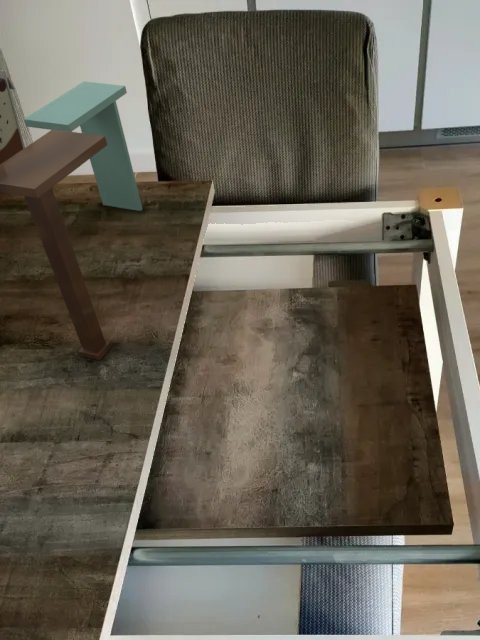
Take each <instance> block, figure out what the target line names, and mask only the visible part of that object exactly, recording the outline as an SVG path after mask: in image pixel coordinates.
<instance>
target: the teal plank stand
mask: <svg viewBox="0 0 480 640" xmlns="http://www.w3.org/2000/svg"><path fill="white" fill-rule="evenodd" d="M127 93H128V91H127V88H126V86H125V85H120V84H113V83H112V84H111V83H104V82H94V81H93V82H92V81H82V82H80V83H78V84H77V85H76V86H74V87H72V88H71V89H69V90H67V91H66V92H64V93H62V94H61V95H60V96H58V97H57V98H55V99H54V100H52V101H50V102H49V103H47V104H45V105H44V106H42V107H40V108H39V109H38V110H36V111H34V112H33V113H31V114H30V115H28V116H26V117H25V118H23V121H24V124H25V127H27V128H33V129H35V128H36V129H42V130H49V131H51V130H52V129H54V130H62V131H70V132H74V131H75V130H77V128H79V127H80V131H81V133H85V134H92V135H100V136H105V138H106V142H107V146H106V147H104V148H103V149H102V150H100V151H99V152H98V153H97V154H95V155H94V156H93V157H91V158H90V159H89V162H90V165H91V168H92V172H93V175H94V179H95V181H96V185H97V188H98V193H99V196H100V200H101V203H102V206H106V207H107V206H108V207H111V208H113V207H114V208H118V209H119V208H120V209H126V210H132V211H139V212H142V211H143V206H142V202H141V197H140V193H139V189H138V185H137V181H136V177H135V173H134V169H133V165H132V161H131V157H130V153H129V148H128V144H127V141H126V137H125V133H124V129H123V125H122V121H121V116H120V112H119V109H118V105H117V100H119V99H120V98H123V96H125V95H127Z"/></svg>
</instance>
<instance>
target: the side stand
mask: <svg viewBox="0 0 480 640" xmlns="http://www.w3.org/2000/svg"><path fill="white" fill-rule="evenodd" d="M106 146H107V142H106V138H105V136H100V135H92V134H85V133H82V132H77V131H72V132H70V131H62V130H54V129H52V130H49V131H47V132H46V133H45V134H43V135H42V136H40V137H39V138H37V139H35V140H34V141H33V142H31V143H30V144H28V145H27V146H25V148H24V149H23V150H21V151H20V152H18V153H17V154H15V155H14V156H12V157H11V158H9V159H8V160H6V161H5V162H3V163H2V164H0V193H3V194H9V195H15V196H22V197H24V199H25V200H24V201H25V202H26V205H27V208H28V210H29V212H30V215H31V218H32V221H33V223H34V226H35V228H36V231H37V233H38V236H39V238H40V241H41V245H42V247H43V249H44V252H45V254H46V257H47V260H48V262H49V265H50V267H51V270H52V273H53V275H54V278H55V280H56V283H57V286H58V288H59V291H60V293H61V296H62V299H63V301H64V304H65V306H66V310H67V312H68V314H69V317H70V319H71V322H72V324H73V328H74V330H75V332H76V336H77V338H78V340H79V343H80V345H81V348H80V349H79V350H78V354H79V356H80V357H84V358H88V359H92V360H97V361H101V360H102V358H103V357H104V356H105V355H106V354H107V353H108V352H109V351H110V349H111V348H112V347H113V345H112V343H111V341H109V340H106V339H105V336H104V333H103V331H102V328H101V325H100V322H99V320H98V317H97V314H96V311H95V308H94V304H93V301H92V299H91V296H90V293H89V291H88V287H87V284H86V282H85V278H84V276H83V273H82V271H81V268H80V265H79V262H78V259H77V256H76V253H75V250H74V247H73V244H72V242H71V239H70V236H69V233H68V230H67V227H66V224H65V221H64V218H63V215H62V212H61V210H60V207H59V203H58V202H57V201H58V200H57V198H56V195H55V192H54V190H53V188H54V187H55V186H57V184H59V183H60V182H61V181H63V180H64V179H65V178H67V177H68V176H69V175H71V174H72V173H73V172H74V171H76V170H77V169H79V168H80V167H81V166H82V165H84V164H85V163H86V162H87V161H90V158H91V157H93V156H94V155H95V154H97V153H98V152H99V151H100V150H102V149H103V148H104V147H106Z"/></svg>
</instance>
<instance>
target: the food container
mask: <svg viewBox="0 0 480 640" xmlns="http://www.w3.org/2000/svg"><path fill="white" fill-rule="evenodd" d="M11 90H13V91H15V90H16V88H15V86H14V84H13V82H12V80H11V78H10V76H8V75H7V74H6V71H5V70H2V69H0V164H2V163H3V162H5V161H6V160H8V159H9V158H11V157H12V156H14V155H15V154H17V153H18V152H20V151H21V150H23V149H24V148H26V146H25V145H26V144H25V141H24V137H23V134H22V130H21V126H20V122H19V118H18V115H17V111H16V107H15V104H14V99H13V96H12V91H11Z"/></svg>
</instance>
